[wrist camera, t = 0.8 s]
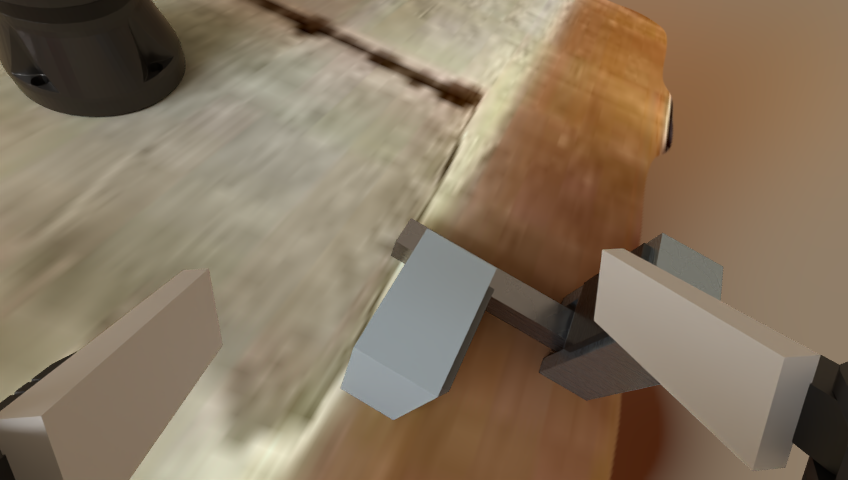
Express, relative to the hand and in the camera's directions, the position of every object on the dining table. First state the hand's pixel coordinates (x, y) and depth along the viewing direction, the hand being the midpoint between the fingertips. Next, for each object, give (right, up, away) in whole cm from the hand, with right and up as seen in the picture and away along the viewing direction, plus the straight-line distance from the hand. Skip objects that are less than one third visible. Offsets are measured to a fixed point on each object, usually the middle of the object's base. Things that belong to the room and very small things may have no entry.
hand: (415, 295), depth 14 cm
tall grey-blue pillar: (-2, -8, +21) cm, 23 cm away
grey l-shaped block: (+7, -4, +26) cm, 27 cm away
